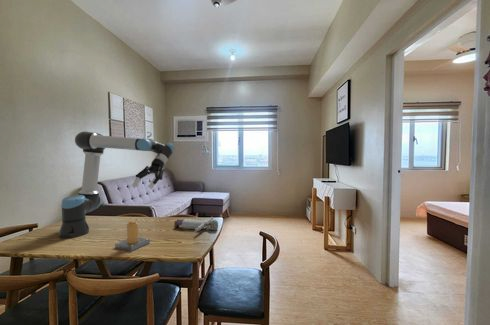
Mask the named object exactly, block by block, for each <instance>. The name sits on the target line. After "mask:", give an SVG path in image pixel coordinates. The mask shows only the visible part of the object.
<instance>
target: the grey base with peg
mask: <svg viewBox="0 0 490 325" xmlns="http://www.w3.org/2000/svg"><path fill="white" fill-rule="evenodd" d="M150 243H151V240H150V239H149V238H145V237H139V236H138V242H136V243H127V238H126V239H124V240H122V241H119V242H115V243H114V248H116V249H121V250H124V251H129V252H133V251H136V250H137V249H139V248H142V247H144V246H146V245H148V244H150Z"/></svg>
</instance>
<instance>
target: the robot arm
mask: <svg viewBox="0 0 490 325" xmlns="http://www.w3.org/2000/svg"><path fill="white" fill-rule="evenodd" d="M74 143H75V146H77V147H78V148H79V149H82V153H83V154H84V155H85V156H84V163H83V175H82V183H81V189H80V190H79V191H78V194H74V195H69V196H66V197H64V198H63V199H62V200H61V220H62V221H61V225H60V229H59V231H58V237H59V239H61V238H62V239H70V238H77V237H81V236H84V235H86V234H89V232H90V227H89V224H88V223H87V219H86V214H88V213H90V212H93V211H95V210H96V209H98V208H99V207H100V206H101V205H102V197H101V195H100V192H99V190H98V182H99V173H100V172H99V171H100V165H101V164H100V162H101V156H102V155H104V151H105V149H116V150H117V149H118V150H128V151H129V150H130V151H131V150H132V151H140V152H141V151H142V152H153V153H155V154H156V156H155V157H154V158H153V159H152V161H151V162H150V164H151V165H150V166H149V165H146V166H145V168H143V169H142V170H141V171H139V172H138V173H137V174H135V177H136V178H135V179H134V181H133V183H132V184H131V187H132V188H133V189H136V188H137V186H138V185H139V183H140V182H141V179H143V178H145V177H146V176H147V175H151V174H154V178H153V179H152V180H151V181H150V183H149V185H148V189H149V190H152V189H153V188H154V186H155V185H157V183H158V181H161V180H163V176H164V175H163V174H164V171H165V168H164V166H165V165H166V163H168V160H169V159H170V157H171V156H172V155H173V153H174V151H175V146H174V145H173V144H172V143H171V142H165V143H164V144H163V143H161V142H158V141H156V140H154V139H152V138H149V137H148V138H136V137H135V138H134V137H125V136H113V135H111V136H110V135H103V134H102V133H98V132H92V131H91V132H90V131H81V132H78V133H77V134H76V135H75V137H74Z"/></svg>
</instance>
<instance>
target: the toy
mask: <svg viewBox="0 0 490 325" xmlns="http://www.w3.org/2000/svg"><path fill="white" fill-rule="evenodd" d="M173 227H174V229H177V228H178V227H181V229H184V230H194V231H193V233H197V232H198V231H199V232H200V231H201V229H204V228H206V229H208V230H212V231H217V230H218V229H219V222H218V221H217V220H216V219H214V217H213V216H211V217H209V218H208V219H206V220H198V219H197V220H196V219H189V218H185V219H177V220H175V221H174V226H173Z"/></svg>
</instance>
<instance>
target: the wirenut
mask: <svg viewBox="0 0 490 325" xmlns="http://www.w3.org/2000/svg"><path fill="white" fill-rule="evenodd" d="M126 225H127V226H126V236H127V238H126V239H127V243H136V242H138V237H139V223H138V222H137V221H136V220H131V221H128V222H127V224H126Z"/></svg>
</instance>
